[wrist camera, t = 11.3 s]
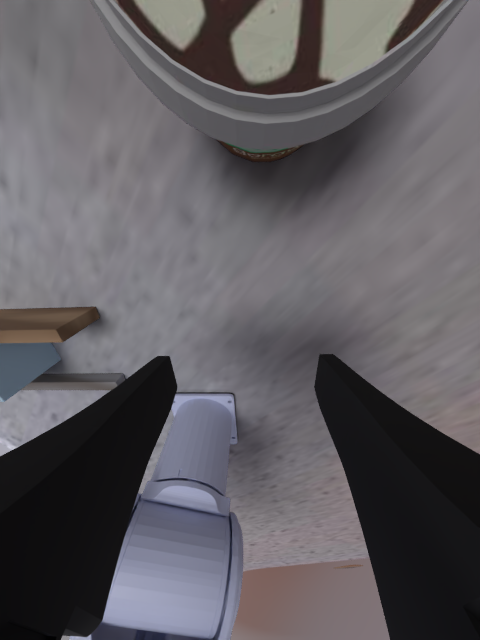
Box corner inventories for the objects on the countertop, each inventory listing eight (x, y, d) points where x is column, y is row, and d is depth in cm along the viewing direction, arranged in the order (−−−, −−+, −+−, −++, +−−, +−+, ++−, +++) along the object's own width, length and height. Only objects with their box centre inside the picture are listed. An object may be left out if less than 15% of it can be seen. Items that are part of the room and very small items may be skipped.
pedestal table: (125, 381, 24) (101, 413, 20) (4, 381, 25) (-43, 412, 21) (95, 306, 20) (55, 329, 16) (-51, 310, 21) (-124, 333, 17)
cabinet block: (64, 364, 23) (9, 407, 18) (25, 364, 24) (-40, 407, 18) (39, 321, 21) (-33, 356, 16) (-5, 322, 21) (-90, 357, 16)
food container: (203, 206, 15) (139, 190, 6) (169, 100, 13) (-20, -176, 4) (375, 147, 13) (630, 3, 4) (377, 5, 11) (1022, -1074, 2)
